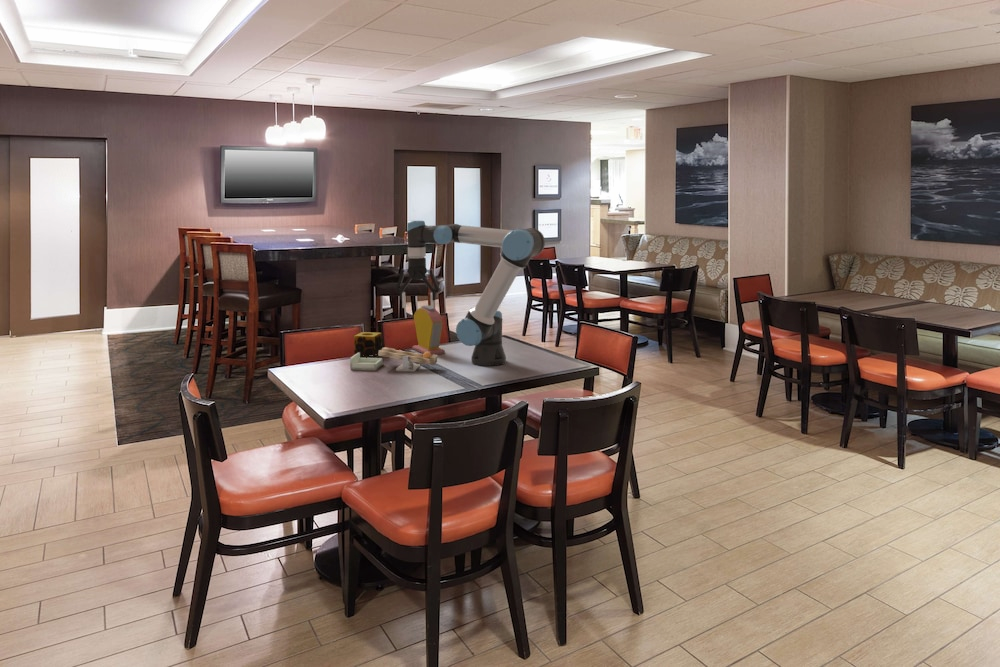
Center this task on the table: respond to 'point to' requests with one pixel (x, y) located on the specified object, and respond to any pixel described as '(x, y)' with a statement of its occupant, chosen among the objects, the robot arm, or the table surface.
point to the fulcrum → (407, 365)
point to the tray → (365, 363)
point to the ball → (427, 355)
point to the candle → (368, 344)
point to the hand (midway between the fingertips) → (418, 307)
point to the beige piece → (412, 356)
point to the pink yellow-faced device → (428, 330)
